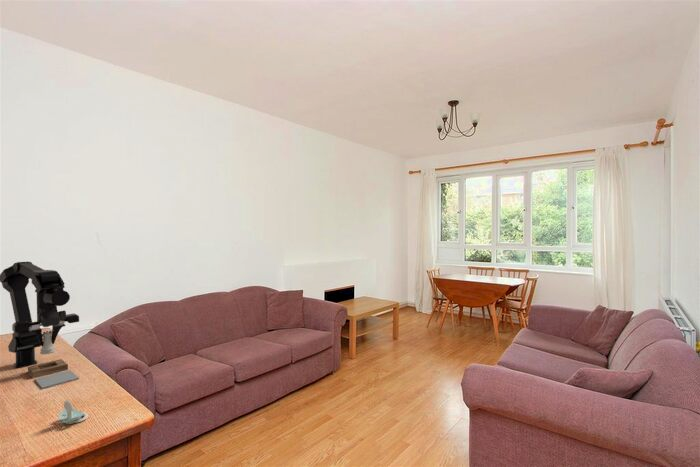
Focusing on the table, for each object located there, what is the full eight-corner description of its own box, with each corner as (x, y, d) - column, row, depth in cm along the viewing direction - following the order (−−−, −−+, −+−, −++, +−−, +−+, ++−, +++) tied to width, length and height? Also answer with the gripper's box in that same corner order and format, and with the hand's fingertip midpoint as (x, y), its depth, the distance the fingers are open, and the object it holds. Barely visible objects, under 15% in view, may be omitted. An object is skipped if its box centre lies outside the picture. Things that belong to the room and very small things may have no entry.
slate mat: (34, 380, 124) (34, 378, 124) (70, 371, 131) (70, 370, 131) (42, 389, 116) (42, 387, 116) (79, 379, 124) (79, 377, 124)
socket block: (27, 371, 132) (27, 366, 132) (61, 363, 140) (61, 358, 140) (33, 378, 125) (33, 372, 125) (67, 369, 133) (67, 364, 133)
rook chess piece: (46, 354, 130) (45, 333, 130) (36, 354, 131) (36, 333, 131) (58, 350, 134) (58, 330, 134) (49, 350, 135) (48, 330, 135)
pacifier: (83, 412, 100) (56, 421, 95) (83, 390, 100) (57, 398, 96) (91, 420, 96) (64, 429, 91) (92, 397, 96) (65, 405, 91)
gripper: (16, 311, 120) (17, 356, 120) (82, 302, 135) (83, 342, 135) (11, 307, 127) (12, 350, 127) (74, 299, 142) (75, 337, 142)
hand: (47, 344), depth 132 cm, fingers closed on rook chess piece, 3 cm apart
